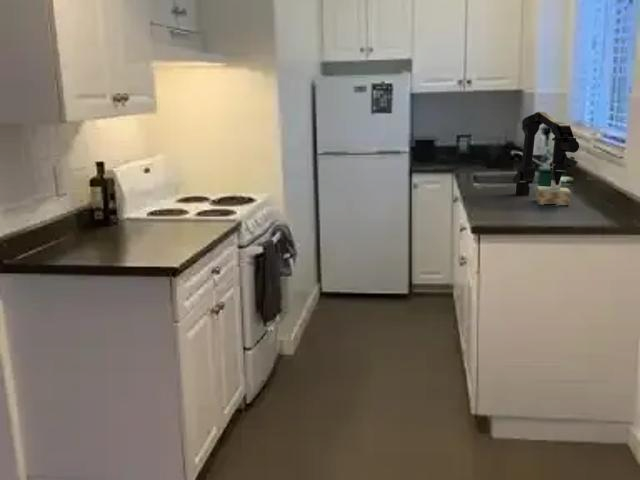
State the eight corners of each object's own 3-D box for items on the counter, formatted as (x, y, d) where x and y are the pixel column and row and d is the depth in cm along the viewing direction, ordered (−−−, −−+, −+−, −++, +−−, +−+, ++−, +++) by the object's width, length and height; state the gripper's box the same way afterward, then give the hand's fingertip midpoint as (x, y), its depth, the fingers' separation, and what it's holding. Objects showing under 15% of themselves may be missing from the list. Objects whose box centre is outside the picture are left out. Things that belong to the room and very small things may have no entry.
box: (537, 204, 327) (539, 191, 325) (535, 200, 340) (537, 187, 339) (569, 206, 324) (570, 193, 322) (565, 201, 337) (567, 189, 336)
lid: (539, 191, 325) (539, 189, 325) (537, 187, 339) (537, 186, 338) (570, 193, 322) (570, 191, 322) (567, 189, 336) (567, 188, 335)
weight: (551, 189, 329) (552, 180, 328) (550, 188, 332) (551, 179, 332) (560, 189, 328) (561, 181, 327) (559, 188, 332) (560, 180, 331)
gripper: (580, 153, 316) (576, 187, 319) (575, 150, 334) (571, 182, 337) (554, 152, 318) (551, 185, 321) (551, 149, 336) (547, 181, 339)
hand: (556, 183), depth 330 cm, fingers open, 9 cm apart
